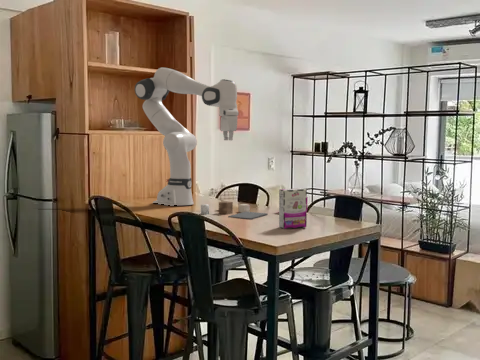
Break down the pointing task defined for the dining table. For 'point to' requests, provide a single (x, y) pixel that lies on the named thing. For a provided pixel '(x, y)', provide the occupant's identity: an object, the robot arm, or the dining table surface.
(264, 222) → the dining table surface
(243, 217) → the mat
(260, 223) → the dining table surface
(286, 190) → the candy bar box
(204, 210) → the grey cylinder
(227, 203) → the walnut block
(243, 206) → the cream cube
